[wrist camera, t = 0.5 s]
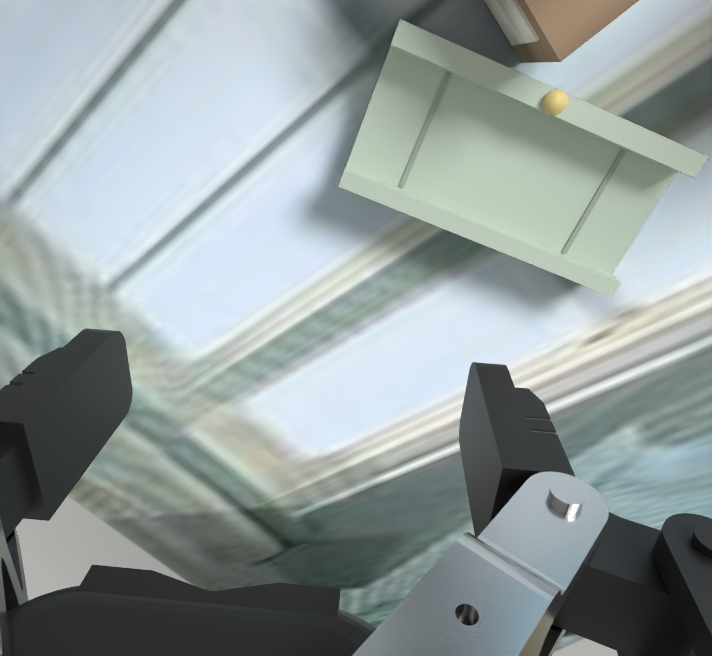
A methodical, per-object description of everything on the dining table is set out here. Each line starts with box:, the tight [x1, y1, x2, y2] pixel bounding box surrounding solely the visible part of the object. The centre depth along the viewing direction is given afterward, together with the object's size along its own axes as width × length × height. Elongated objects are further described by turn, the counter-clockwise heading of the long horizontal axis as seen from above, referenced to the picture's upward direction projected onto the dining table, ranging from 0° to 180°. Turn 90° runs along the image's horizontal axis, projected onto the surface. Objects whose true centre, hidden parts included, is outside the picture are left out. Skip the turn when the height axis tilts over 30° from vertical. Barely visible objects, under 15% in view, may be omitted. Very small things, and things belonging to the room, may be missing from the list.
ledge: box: [338, 19, 708, 297], centre depth 32 cm, size 9×18×4 cm, turn 69°
